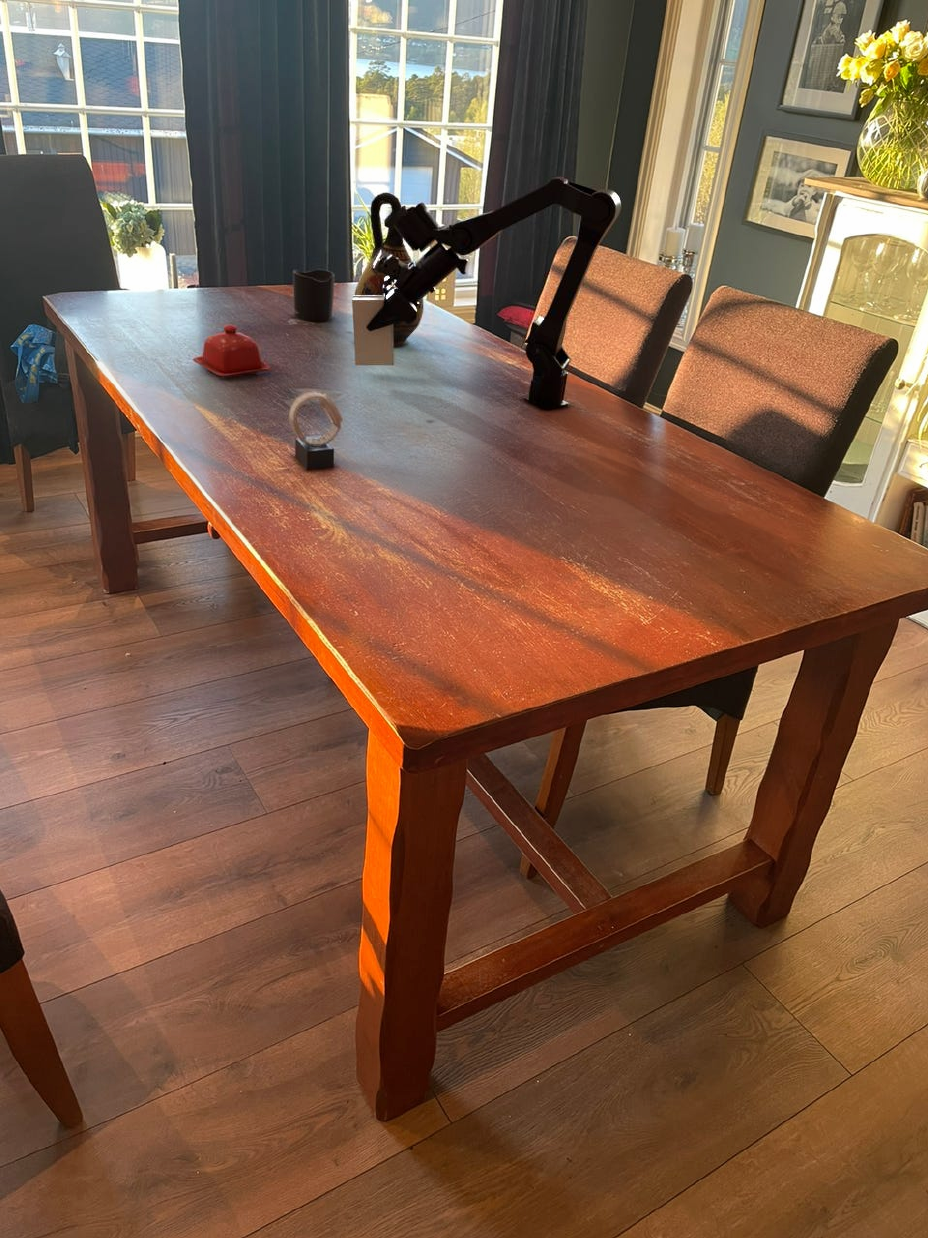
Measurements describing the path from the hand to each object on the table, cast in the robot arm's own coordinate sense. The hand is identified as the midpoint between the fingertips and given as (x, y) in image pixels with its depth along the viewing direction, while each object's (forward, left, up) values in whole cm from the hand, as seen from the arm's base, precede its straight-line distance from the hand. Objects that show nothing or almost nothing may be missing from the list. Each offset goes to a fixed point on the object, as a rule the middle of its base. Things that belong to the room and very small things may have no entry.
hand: (367, 326), depth 181 cm
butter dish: (+23, -12, -10) cm, 28 cm away
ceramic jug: (-18, -21, -10) cm, 29 cm away
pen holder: (-12, -42, -10) cm, 45 cm away
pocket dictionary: (-1, +1, -7) cm, 7 cm away
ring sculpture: (+31, +34, -10) cm, 47 cm away
